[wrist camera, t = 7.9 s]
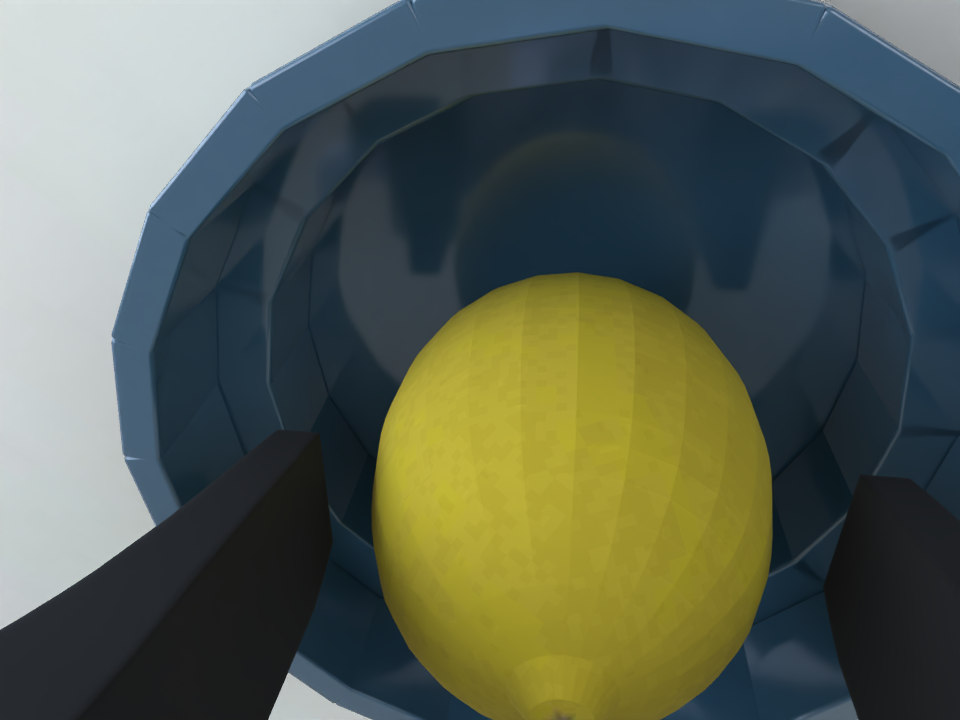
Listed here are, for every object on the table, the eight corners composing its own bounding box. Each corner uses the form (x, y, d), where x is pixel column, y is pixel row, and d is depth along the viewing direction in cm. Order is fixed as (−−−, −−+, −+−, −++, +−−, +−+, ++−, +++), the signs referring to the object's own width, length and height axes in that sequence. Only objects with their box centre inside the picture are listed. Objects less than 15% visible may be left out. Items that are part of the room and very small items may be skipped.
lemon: (764, 400, 15) (918, 827, 8) (510, 490, 17) (460, 899, 10) (650, 145, 13) (731, 433, 6) (372, 281, 14) (185, 622, 8)
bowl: (1080, 356, 14) (1292, 550, 10) (548, 644, 20) (540, 847, 16) (621, -286, 10) (648, -413, 6) (122, 299, 16) (-45, 445, 12)
